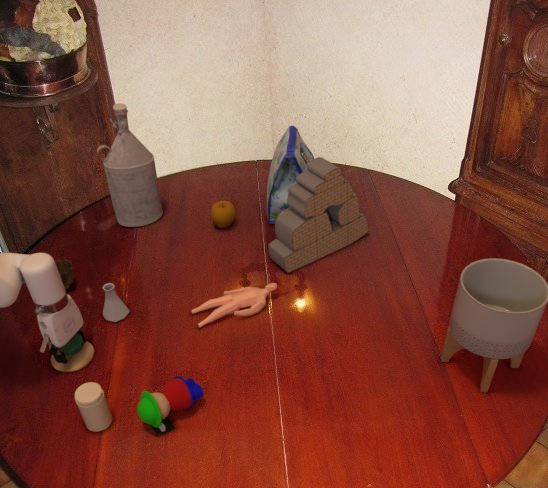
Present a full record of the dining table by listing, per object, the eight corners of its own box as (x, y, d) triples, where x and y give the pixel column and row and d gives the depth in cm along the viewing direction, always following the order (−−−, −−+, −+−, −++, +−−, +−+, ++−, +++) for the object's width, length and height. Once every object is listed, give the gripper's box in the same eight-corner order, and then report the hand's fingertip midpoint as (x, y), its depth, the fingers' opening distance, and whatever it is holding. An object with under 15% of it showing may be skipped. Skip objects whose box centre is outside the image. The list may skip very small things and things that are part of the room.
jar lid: (86, 335, 147) (84, 330, 146) (82, 355, 141) (80, 350, 140) (58, 338, 146) (56, 333, 145) (53, 358, 141) (51, 353, 140)
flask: (115, 326, 154) (106, 299, 148) (98, 315, 158) (89, 288, 151) (134, 311, 159) (127, 284, 152) (117, 301, 162) (110, 274, 155)
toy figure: (186, 394, 139) (131, 419, 130) (184, 363, 134) (127, 387, 126) (206, 413, 133) (150, 441, 125) (206, 382, 128) (147, 409, 120)
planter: (443, 388, 135) (465, 309, 118) (437, 333, 149) (456, 255, 132) (524, 395, 133) (559, 316, 116) (511, 339, 147) (540, 260, 129)
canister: (110, 215, 196) (82, 104, 170) (158, 202, 202) (137, 93, 175) (119, 233, 188) (91, 120, 161) (168, 219, 193) (149, 108, 167)
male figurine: (187, 300, 156) (268, 270, 162) (190, 312, 160) (270, 283, 166) (198, 324, 149) (283, 292, 155) (202, 337, 152) (285, 305, 158)
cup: (49, 295, 165) (41, 274, 159) (57, 279, 170) (50, 258, 165) (74, 295, 164) (67, 274, 159) (82, 279, 170) (75, 258, 165)
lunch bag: (315, 226, 188) (317, 155, 171) (265, 226, 189) (262, 155, 171) (314, 191, 205) (316, 123, 187) (269, 191, 205) (266, 124, 188)
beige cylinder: (83, 433, 128) (71, 404, 121) (87, 411, 133) (75, 383, 126) (111, 430, 129) (100, 401, 122) (113, 408, 133) (103, 379, 126)
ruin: (347, 219, 189) (346, 138, 168) (368, 233, 183) (370, 151, 162) (266, 262, 177) (255, 181, 156) (286, 279, 171) (276, 197, 150)
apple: (227, 235, 185) (225, 213, 179) (206, 228, 189) (203, 206, 183) (241, 222, 191) (239, 200, 185) (220, 216, 194) (218, 194, 188)
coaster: (47, 374, 142) (47, 373, 141) (55, 343, 150) (54, 342, 150) (92, 369, 143) (91, 368, 142) (96, 339, 151) (96, 337, 150)
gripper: (39, 328, 126) (61, 379, 138) (86, 282, 138) (103, 333, 150) (13, 320, 129) (37, 371, 140) (62, 275, 140) (80, 326, 152)
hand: (71, 351), depth 145 cm, fingers closed on jar lid, 7 cm apart
